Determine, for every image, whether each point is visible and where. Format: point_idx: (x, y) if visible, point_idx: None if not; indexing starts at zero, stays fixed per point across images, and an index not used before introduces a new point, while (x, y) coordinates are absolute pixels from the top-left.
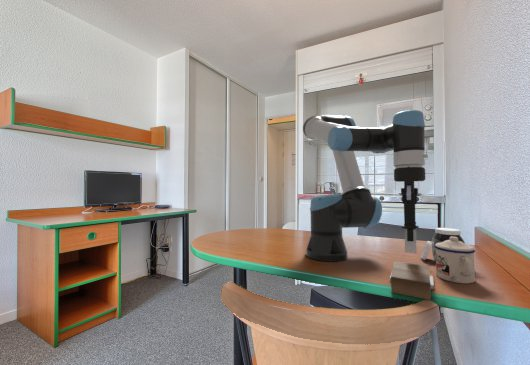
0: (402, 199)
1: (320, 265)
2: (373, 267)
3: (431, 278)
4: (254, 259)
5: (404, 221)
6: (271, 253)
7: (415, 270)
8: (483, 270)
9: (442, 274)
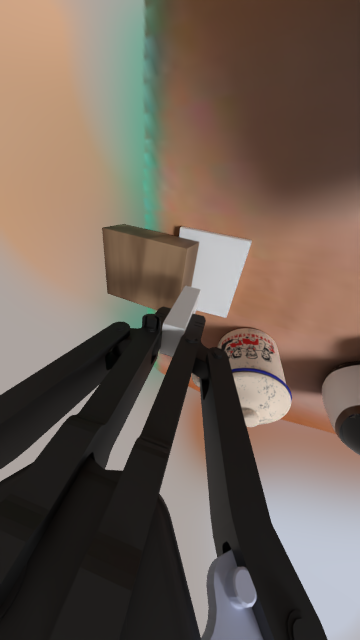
0: (48, 446)
1: None
2: (300, 181)
3: (208, 311)
4: None
5: (97, 333)
6: None
7: (146, 284)
8: (306, 406)
9: (231, 335)
